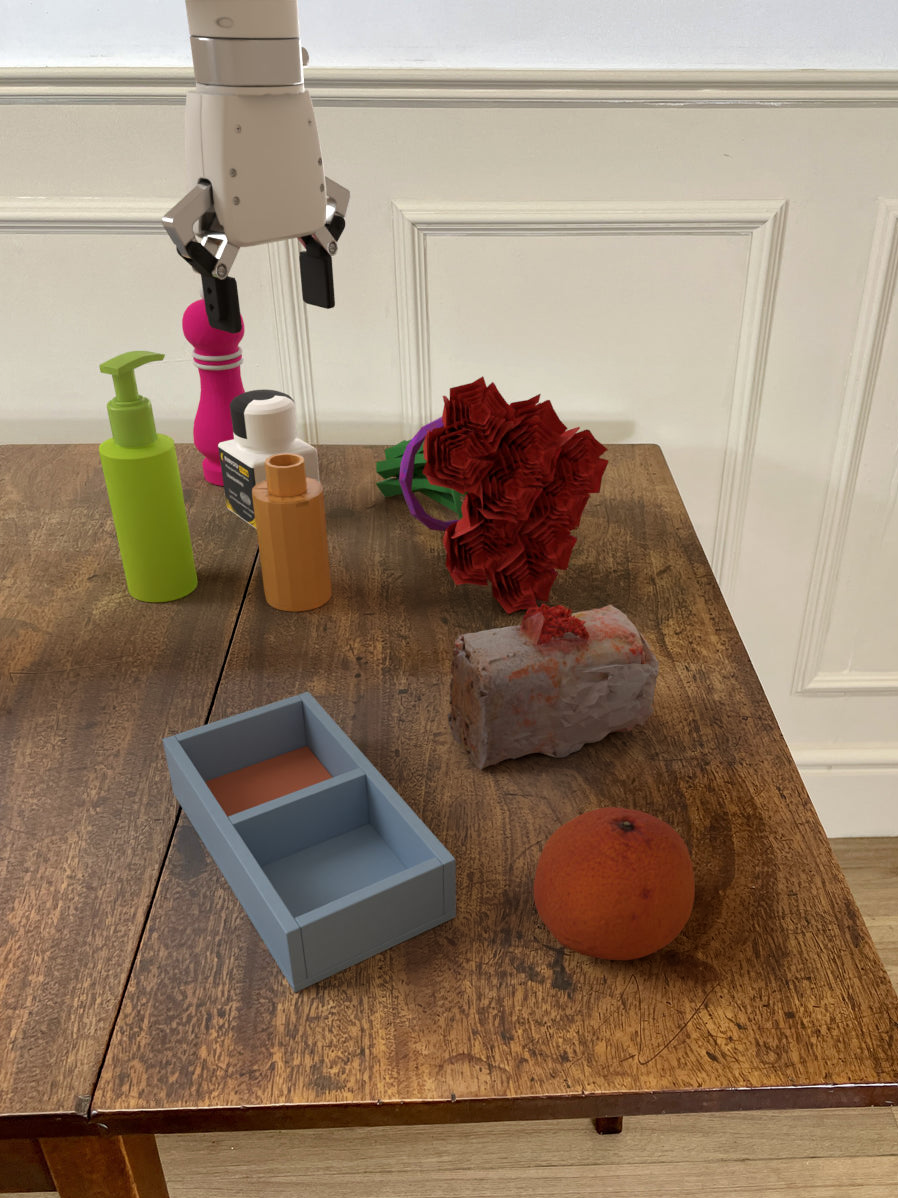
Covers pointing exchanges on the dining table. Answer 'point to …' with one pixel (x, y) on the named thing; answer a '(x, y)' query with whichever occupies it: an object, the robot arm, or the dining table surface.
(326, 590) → the bottle
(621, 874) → the fruit
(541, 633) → the food item
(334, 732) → the tray
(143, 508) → the soap dispenser
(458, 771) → the dining table surface
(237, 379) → the pepper mill
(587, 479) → the bouquet
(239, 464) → the medicine bottle
